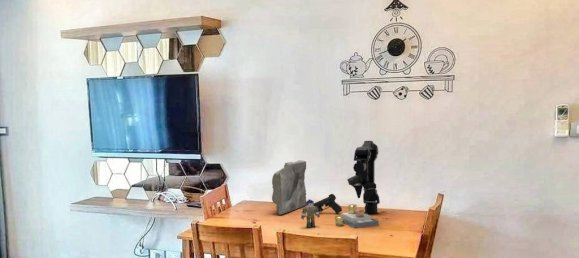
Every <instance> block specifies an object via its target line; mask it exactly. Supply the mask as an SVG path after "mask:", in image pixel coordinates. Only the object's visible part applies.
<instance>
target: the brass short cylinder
mask: <svg viewBox="0 0 579 258" xmlns="http://www.w3.org/2000/svg"><path fill="white" fill-rule="evenodd" d="M356 210H358V209H357V204H348V212H349V214H356Z"/></svg>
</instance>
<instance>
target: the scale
mask: <svg viewBox="0 0 579 258" xmlns="http://www.w3.org/2000/svg"><path fill="white" fill-rule="evenodd" d="M340 213H341V212H340ZM340 216H343V220H344V225H347V226H349V227H351V228H352V229H358V228H367V226H368V227H374V226H375V225H376V226H380V220H378V219H376V218H374V217H373V215H368V214H366V213H364V217H356V214H349V211H348V212H342V213H341V215H340Z"/></svg>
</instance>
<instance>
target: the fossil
mask: <svg viewBox="0 0 579 258" xmlns="http://www.w3.org/2000/svg"><path fill="white" fill-rule="evenodd" d="M306 170H307V161H306V160H300V159H299V160H297V161H289V162H285V163H284V166H283V167H282V168H281V169H280V170H278V171H276V172H274V174H273V175H272V181H271V185H272V191H273V192H272V194H271V195H272V197H271V200H272V203H274V204H275V205H276V206H275V209H276V214H277V215H284V214H286V213H289V212H293V211H294V210H298V209H300V208H304V207H307V192H306V191H307V190H306V185H305V182H306V181H305V179H306V178H305V177H306V175H305V174H306V173H305V172H306Z"/></svg>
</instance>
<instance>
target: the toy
mask: <svg viewBox="0 0 579 258" xmlns="http://www.w3.org/2000/svg"><path fill="white" fill-rule="evenodd" d="M306 202H307V205H306V206H303V207H302V211H301V215H300V216H301V217H300V219H302V220H304V219H305V218H306V228H307V229H315V228H316V227H317V226H316V224H315V223H316V222H315V219H316V217H317V218H318V219H319V218H320V217H321V215H320V212H318V207H316V206H313V205H314V203H315V201H314V200H312V199H308V200H306ZM314 211H315V212H314Z"/></svg>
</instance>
